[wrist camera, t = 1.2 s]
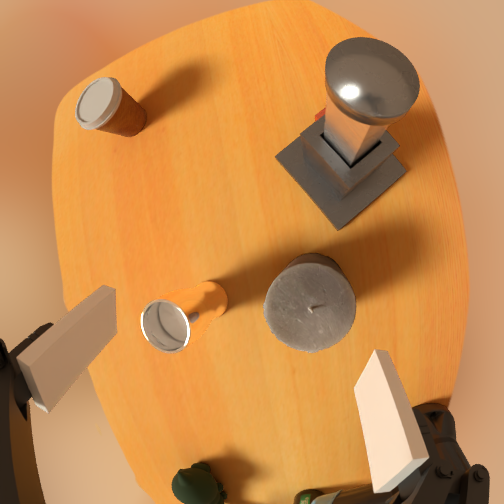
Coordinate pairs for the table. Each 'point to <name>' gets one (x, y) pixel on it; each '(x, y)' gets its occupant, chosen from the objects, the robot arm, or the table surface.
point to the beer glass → (182, 316)
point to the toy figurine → (197, 486)
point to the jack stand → (339, 172)
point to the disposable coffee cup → (109, 109)
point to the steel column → (365, 95)
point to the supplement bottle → (307, 496)
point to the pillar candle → (310, 304)
